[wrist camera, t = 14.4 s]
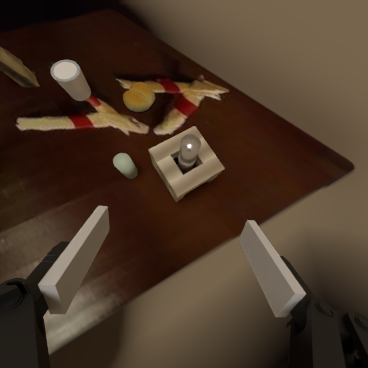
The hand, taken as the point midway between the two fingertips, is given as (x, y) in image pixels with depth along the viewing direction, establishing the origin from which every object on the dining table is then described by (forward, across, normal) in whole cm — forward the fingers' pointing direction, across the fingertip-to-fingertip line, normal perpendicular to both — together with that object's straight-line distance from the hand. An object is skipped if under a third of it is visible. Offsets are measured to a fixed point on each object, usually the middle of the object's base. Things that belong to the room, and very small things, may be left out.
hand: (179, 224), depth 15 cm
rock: (+46, -46, +11) cm, 66 cm away
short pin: (+27, -11, -7) cm, 30 cm away
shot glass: (+43, -29, +9) cm, 52 cm away
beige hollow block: (+27, +3, -5) cm, 28 cm away
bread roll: (+42, -12, +10) cm, 45 cm away
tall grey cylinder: (+27, +3, -6) cm, 28 cm away
